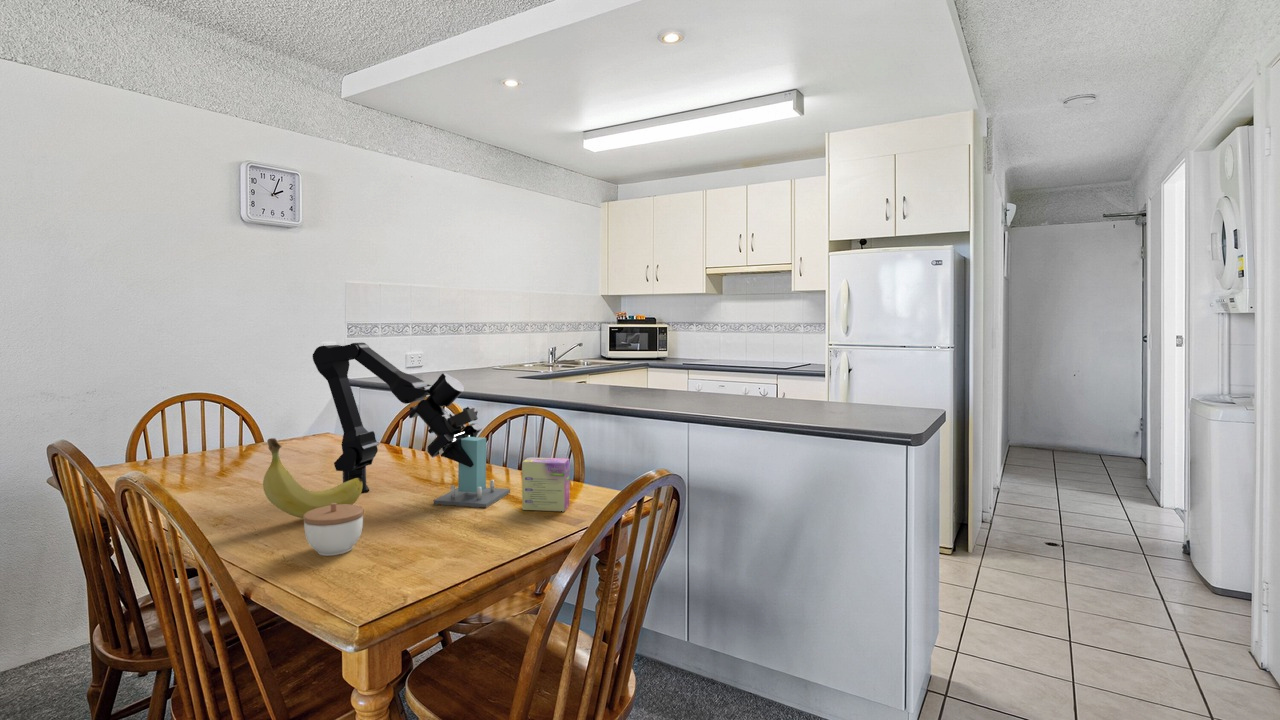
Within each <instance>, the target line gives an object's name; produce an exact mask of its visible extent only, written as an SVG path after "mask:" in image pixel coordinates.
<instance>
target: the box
mask: <svg viewBox="0 0 1280 720" xmlns="http://www.w3.org/2000/svg"><path fill="white" fill-rule="evenodd" d="M521 464H522V466H521V467H522V469H521V470H522V472H521V474H522V477H521V483H522V484H521V486H522V487H521V488H522V489H521V493H522V494H521V497H522V499H521V500H522V501H521V502H522V504H521V505H522V510H523V511H544V512H545V511H547V512H561V511H562V513H563V512H564V513H565V512H566V510H567V509H568V508H569V507H570V476H571V474H570V466H571V465H570V458H565V457H564V458H563V457H562V458H561V457H560V458H559V457H534V456H533V457H532V456H531V457H530V456H529V457H526V459H524V460H523V461H522V463H521Z"/></svg>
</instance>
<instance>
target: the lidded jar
mask: <svg viewBox="0 0 1280 720" xmlns="http://www.w3.org/2000/svg"><path fill="white" fill-rule="evenodd" d="M302 519H303V526H304V527H303V528H304V535H305V538H306V541H307V544H309V546H310V547H311V548H312V549H313V551H316V552H317V554H318V555H319V556H322V557H323V556H325V557H326V556H327V557H332V556H339V554H340V555H343V554H347V553H348V552H350V551H352V549H353V547H354V546H355V545H356V544H357V542H358V541H359V540H360V538H361V537H362V536H361V535H362V531H363V526H364V508H363V507H362V506H361V505H358V504H357V505H356V504H353V505H351V504H340V505H337V503H331V505H330V506H324V507H320V508H316V509H313V510H310V511H308V512H306V513H305V514H304V516H303V518H302Z"/></svg>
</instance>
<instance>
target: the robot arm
mask: <svg viewBox="0 0 1280 720" xmlns="http://www.w3.org/2000/svg"><path fill="white" fill-rule="evenodd" d="M351 360H355V361H356V362H358V363H359V364H360V365H362V366H363V367H364V368H366V369H367V370H369V371H370V372H371V373H372V374H374V375H375V376H376V377H378V378H379V379H380V380H381V381H383V382H384V383H385V384H387V386H388V387H389V389H390V391H391V393H392V394H393V396H395V397H396V399H397V400H398V401H400V402H401V403H402V404H405V405H407V404H413V403H417V402H418V403H417V405H414V406H411V407H409V414H408V418H409V419H413V418H417V417H419V418H420V419H421V420H422V421H423V422H424V423H425V424H426V426H427V427H428V430H427V432H428V434H434V435H435V436H436V437H435V438H434V439H433V440H432V441H431V443H429V445H427V448H426V449H427V451H426V452H427V453H428V455H429V456H430V457H431V458H436V457H438V456H439V455H440V457H442V458H445V459H449V460H452V461H454V462H457V463H458V464H459V463H461V464H463V465H466V466H468V467H472V466H473V465H474V464H473V462H472V460H471V459H470V458H469V456H468V455H467V453H466V452H465V451H464V449H463V448H462V446H461V439H463V438H466V437H478V434H479V433H480V432H481V431H482V430H483V429H482V427H481V426H480V425H479V424H478V423H471V422H475V421H477V420H478V411H479V410H476V409H475V407H473V406H471V405H469V406H467V407H464V408H463V409H462V411H460V412H458V413H455V414H454V413H453V412H450V413H448V412H447V411H446V410H445V408H443V407H450V406H451V405H452V404H453V403H454V402H455V401H456V400H457V399H458V397H460V396H461V395H462V394H463V392H464V391H465V387H464V385H463V383H462V382H461V381H460V380H458V379H456V378H455V377H454V376H451V375H449V374H448V373H447V372H444V373H443V372H442V373H441V374H440V375H439V377H438V378H437V380H436V381H435V382H434V383H433V384H428V383H426V382H425V381H424V380H423V379H420V378H418V377H416V376H415V375H413V374H409V373H406V372H404V371H402V370H400V369H399V368H397V367H396V366H395V365H393V364H392V363H391V362H389V361H388V360H387V359H385V358H384V357H383V356H382V355H380V354H379V353H377V351H375V350H373V349H372V347H370V345H369V344H367V343H366V342H352V343H350V344H346V345H340V344H334V345H332V344H331V345H320V346H317V347H316V349H314V351H313V353H312V361H313V364H314V365H315V367H316V369H317V372H318V373H319V374H320V375H321V376H322V377H323V378H324V379H326V381H327V382H328V383H327V384H328V387H329V390H330V392H331V393H330V394H331V397H332V399H333V402H334V406H335V409H336V413H337V415H338V418H339V419H338V420H339V421H340V424H341V428H342V431H343V435H342V441H341V450H342V454H341V455H339V457H338V458H337V459H336V460H335V461H334V462H333V465H334V468H335V471H337V472H342V483H344V482H347V481H349V480H352V479H354V478H360V479H361V480H362V482H363V487H362V492H361V493H367V492H370V488H369V486H368V485H367V467H368V466H371V465H372V464H373V462H374V458H375V457H377V453H378V451H379V450H378V446H379V445H380V444H379V443H378V441H377V439H376V433H375V432H374V431H373V430H371V431H368V430H367V429H366V428H365V427H364V425H363V421H362V418H361V415H360V411H359V409H358V406H357V403H356V400H355V395H354V393H353V390H352V387H351V383H350V381H349V378H348V374H349V370H350V369H349V367H350V361H351ZM426 397H427V398H426ZM425 398H426V399H425ZM469 423H470V424H469ZM466 424H467V425H466ZM441 450H442V453H441V454H440V451H441Z"/></svg>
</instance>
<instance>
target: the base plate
mask: <svg viewBox="0 0 1280 720" xmlns="http://www.w3.org/2000/svg"><path fill="white" fill-rule="evenodd" d="M489 483H490V484H489V485H490V487H486V488H485V489H483V490H482V489H481V487H477V493H474V492H462V491H458V487H456V485H455V484H451V485H450V491H449V492H447V493H445V494H443V495H441V496H439V497H437V498H435V499H434V500H433V502H432V503H433V505H436V504H441V505H440V506H450V505H456V506H455V507H464V506H471V507H470V508H479V507H487V506H489V505H490V506H492V505H493V504H495V503H496V502H495V501H497V500H498V501H500V500H501V499H503V498H505V497H506V496H508V495H509V494H511V489H510V488H497V487H495V479H490V480H489ZM508 493H509V494H508ZM507 494H508V495H507ZM505 495H506V496H505ZM502 497H503V498H502ZM500 498H501V499H500ZM499 499H500V500H499ZM498 501H497V502H498ZM494 502H495V503H494ZM492 503H493V504H492ZM491 504H492V505H491ZM490 506H489V507H490ZM487 508H488V507H487Z"/></svg>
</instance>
